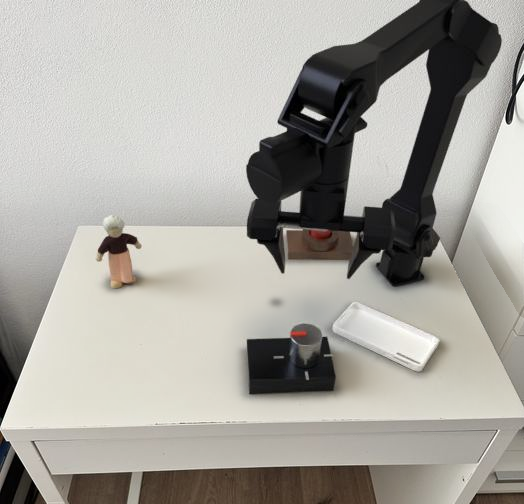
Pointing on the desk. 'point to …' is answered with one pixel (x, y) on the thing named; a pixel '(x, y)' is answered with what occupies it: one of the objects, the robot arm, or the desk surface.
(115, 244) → the grandmother figurine
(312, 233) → the power button
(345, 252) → the control block
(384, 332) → the phone case
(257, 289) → the desk surface
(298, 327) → the hob knob
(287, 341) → the panel
